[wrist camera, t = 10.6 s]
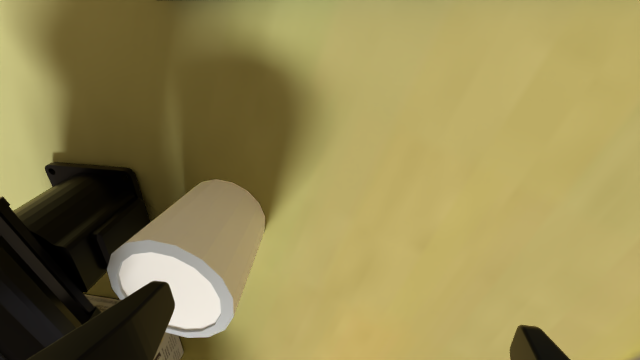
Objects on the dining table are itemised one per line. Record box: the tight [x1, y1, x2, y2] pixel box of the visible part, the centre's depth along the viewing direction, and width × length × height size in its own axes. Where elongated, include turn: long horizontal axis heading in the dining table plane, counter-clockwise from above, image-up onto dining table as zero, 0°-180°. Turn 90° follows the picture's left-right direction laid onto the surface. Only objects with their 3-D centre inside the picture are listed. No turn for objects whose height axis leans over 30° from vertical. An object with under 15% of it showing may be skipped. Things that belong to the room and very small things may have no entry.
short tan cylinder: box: [107, 179, 265, 338], centre depth 21 cm, size 7×7×7 cm
